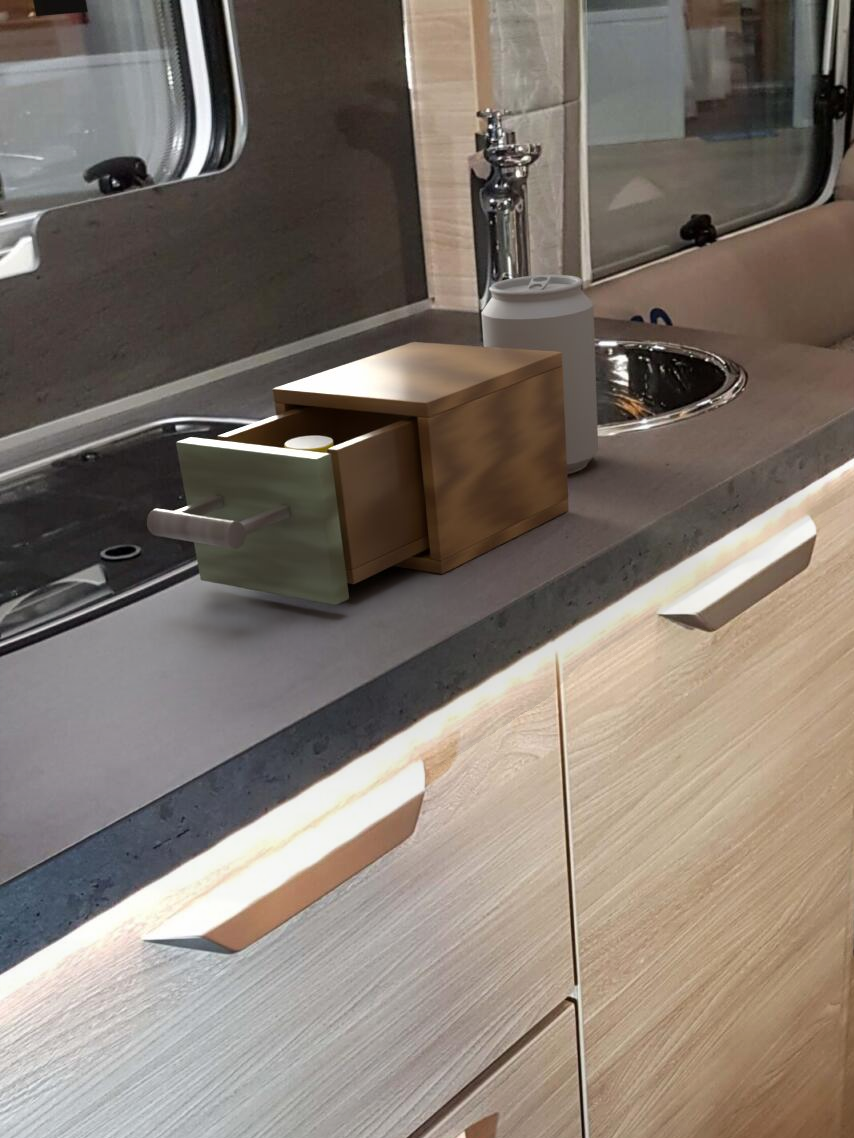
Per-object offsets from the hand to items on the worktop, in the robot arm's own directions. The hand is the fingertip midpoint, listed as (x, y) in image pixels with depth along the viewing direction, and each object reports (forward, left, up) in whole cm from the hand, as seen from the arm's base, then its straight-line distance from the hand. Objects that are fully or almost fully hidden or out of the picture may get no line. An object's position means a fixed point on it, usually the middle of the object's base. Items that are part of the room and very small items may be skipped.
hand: (158, 7), depth 73 cm
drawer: (+2, +3, -28) cm, 28 cm away
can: (+9, +29, -29) cm, 42 cm away
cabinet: (+6, +14, -29) cm, 33 cm away
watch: (+3, +4, -27) cm, 27 cm away
